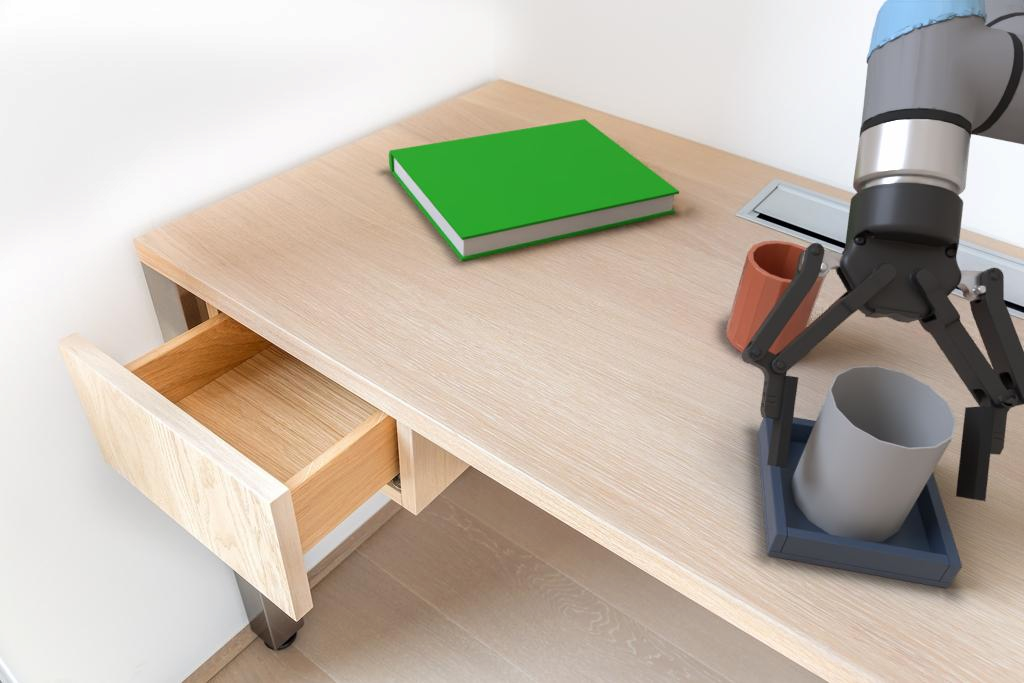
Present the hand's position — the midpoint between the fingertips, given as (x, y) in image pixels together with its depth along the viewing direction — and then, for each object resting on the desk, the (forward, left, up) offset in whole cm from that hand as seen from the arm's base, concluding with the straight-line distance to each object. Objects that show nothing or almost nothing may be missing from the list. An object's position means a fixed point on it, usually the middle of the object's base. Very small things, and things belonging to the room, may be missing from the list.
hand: (872, 483), depth 57 cm
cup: (0, -2, -5) cm, 5 cm away
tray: (0, -2, -5) cm, 6 cm away
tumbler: (+5, -22, -5) cm, 24 cm away
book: (+32, -45, -5) cm, 56 cm away
